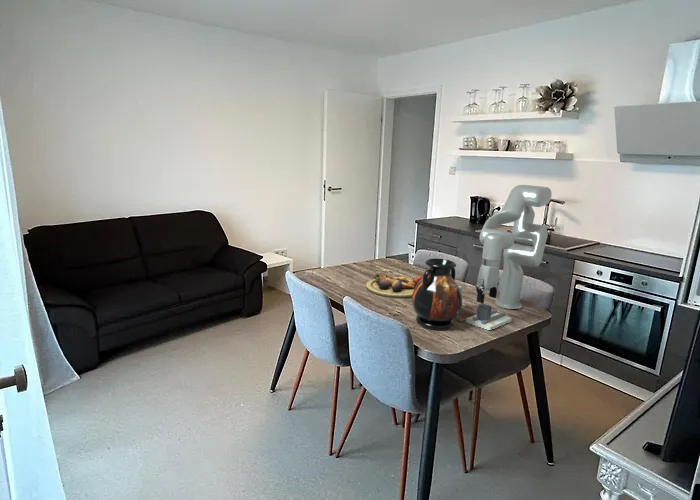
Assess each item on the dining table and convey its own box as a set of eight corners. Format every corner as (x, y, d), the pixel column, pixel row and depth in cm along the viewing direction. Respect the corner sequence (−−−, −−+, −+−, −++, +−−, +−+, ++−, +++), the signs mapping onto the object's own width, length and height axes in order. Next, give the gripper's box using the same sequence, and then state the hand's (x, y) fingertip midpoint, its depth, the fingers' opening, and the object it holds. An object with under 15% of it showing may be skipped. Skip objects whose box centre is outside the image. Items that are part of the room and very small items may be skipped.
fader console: (487, 313, 202) (488, 307, 202) (511, 322, 194) (512, 315, 193) (465, 322, 191) (466, 315, 190) (489, 331, 182) (490, 324, 181)
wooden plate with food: (423, 282, 246) (424, 269, 245) (426, 301, 215) (427, 285, 214) (367, 279, 250) (368, 265, 248) (363, 296, 219) (363, 281, 217)
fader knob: (480, 317, 191) (481, 303, 190) (490, 320, 188) (492, 306, 186) (476, 318, 189) (478, 304, 188) (486, 322, 186) (488, 307, 184)
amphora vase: (433, 311, 202) (438, 253, 196) (470, 327, 186) (477, 264, 179) (399, 319, 190) (404, 258, 183) (436, 338, 173) (443, 271, 167)
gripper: (493, 256, 191) (489, 293, 195) (471, 263, 180) (467, 301, 184) (509, 260, 185) (504, 297, 190) (487, 267, 174) (483, 307, 179)
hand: (486, 299), depth 187 cm, fingers open, 9 cm apart
